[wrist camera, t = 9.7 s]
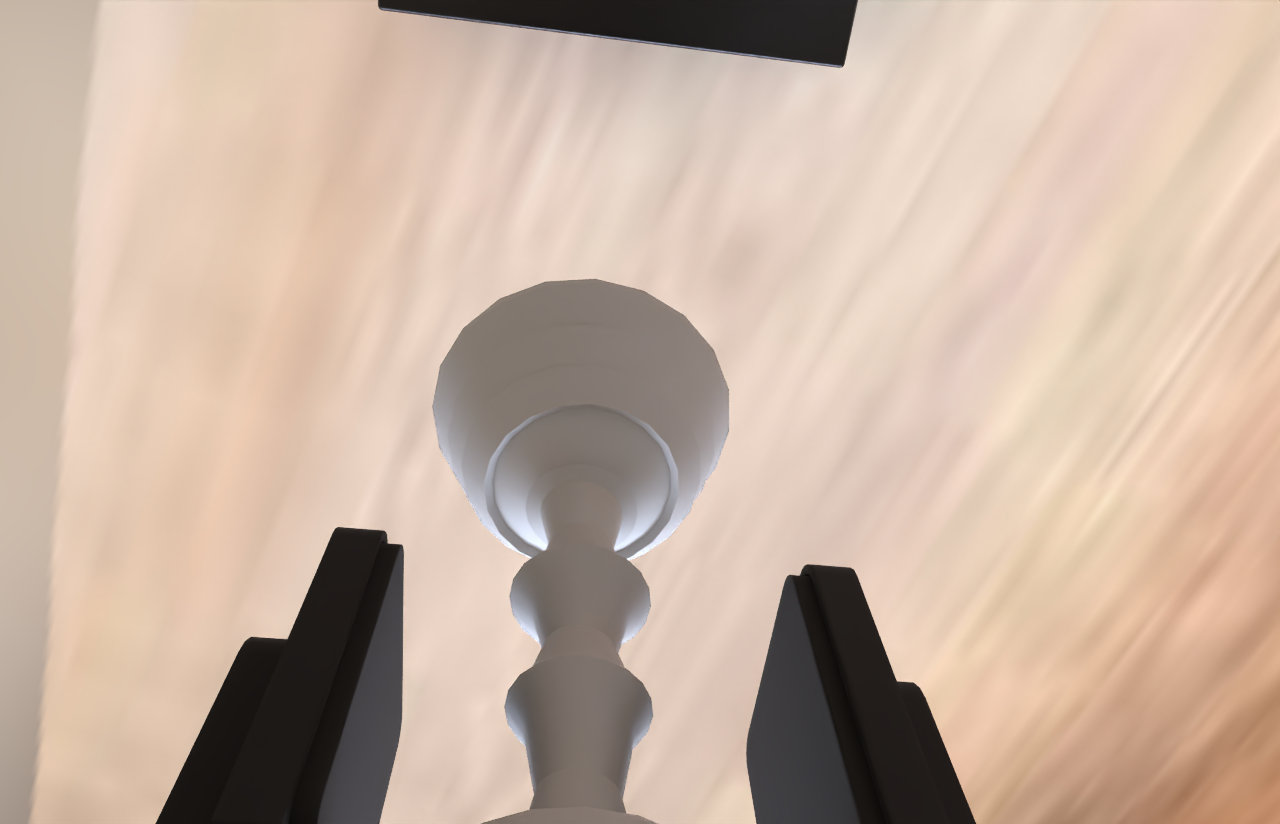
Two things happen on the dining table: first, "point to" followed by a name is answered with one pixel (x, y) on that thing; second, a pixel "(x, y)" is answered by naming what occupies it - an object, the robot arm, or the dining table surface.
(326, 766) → the robot arm
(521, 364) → the chalice
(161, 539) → the dining table surface
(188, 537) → the dining table surface
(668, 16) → the black knob base
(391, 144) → the dining table surface
